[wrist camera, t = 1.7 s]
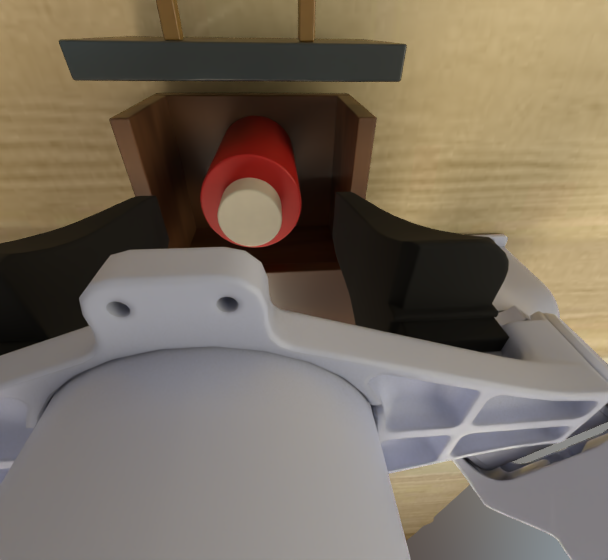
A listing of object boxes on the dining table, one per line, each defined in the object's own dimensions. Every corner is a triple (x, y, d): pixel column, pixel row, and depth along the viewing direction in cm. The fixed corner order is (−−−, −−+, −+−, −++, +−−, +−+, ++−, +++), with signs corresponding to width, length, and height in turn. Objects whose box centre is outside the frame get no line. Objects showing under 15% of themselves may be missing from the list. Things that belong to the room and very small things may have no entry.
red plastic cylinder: (293, 115, 18) (304, 164, 11) (293, 188, 21) (303, 262, 14) (215, 115, 18) (182, 166, 11) (226, 189, 21) (205, 265, 14)
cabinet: (170, 203, 23) (125, 277, 16) (352, 199, 24) (385, 268, 17) (202, 322, 31) (182, 406, 24) (339, 316, 32) (357, 395, 25)
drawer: (90, -112, 13) (-40, -213, 8) (379, -100, 14) (447, -182, 9) (181, 231, 23) (153, 292, 18) (345, 226, 24) (365, 283, 19)
